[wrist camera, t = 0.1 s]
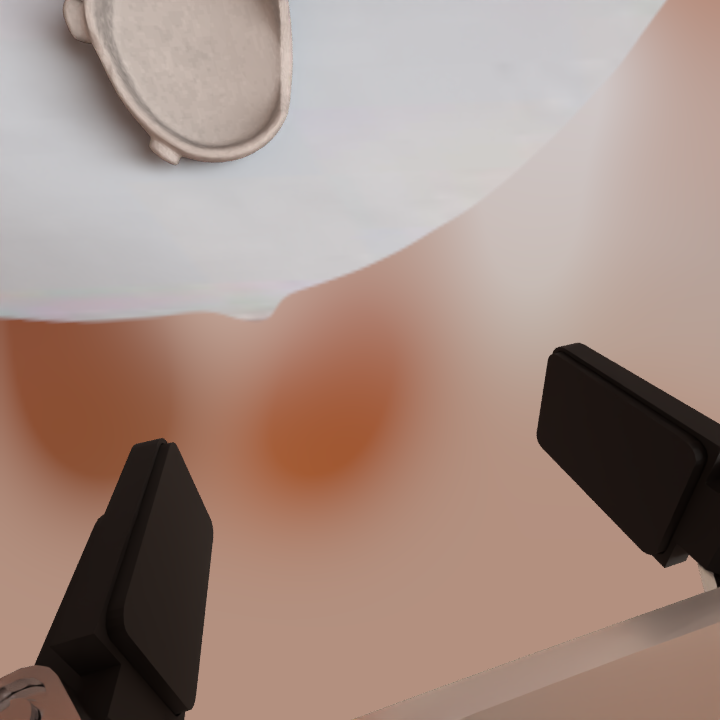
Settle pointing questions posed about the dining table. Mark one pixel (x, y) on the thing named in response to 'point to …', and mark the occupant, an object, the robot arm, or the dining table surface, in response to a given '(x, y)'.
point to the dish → (194, 69)
